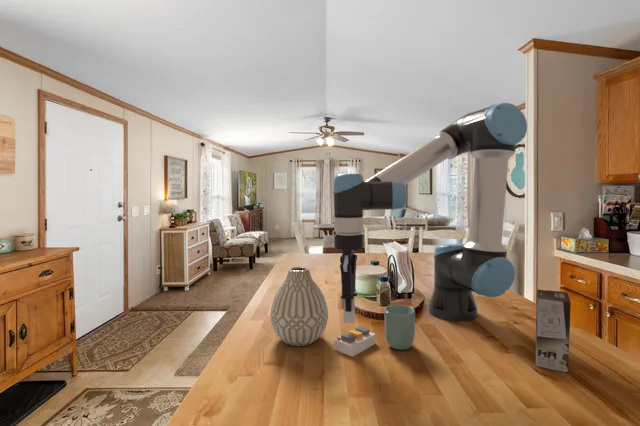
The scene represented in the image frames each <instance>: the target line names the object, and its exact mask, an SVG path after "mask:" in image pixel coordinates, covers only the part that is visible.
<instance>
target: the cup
mask: <svg viewBox="0 0 640 426" xmlns="http://www.w3.org/2000/svg"><path fill="white" fill-rule="evenodd" d="M415 333H416V310H415V309H414V307H412V306H410V305H405V304H391V305H387V306H386V307H385V308H384V334H385V338H386V339H385V340H386V342H387V344H388V346H389V347H390V348H392V349H395V350H397V351H405V350H408V349H410V348H411V347H412V346H413V344H414V340H415V335H416V334H415Z"/></svg>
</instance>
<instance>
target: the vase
mask: <svg viewBox="0 0 640 426" xmlns="http://www.w3.org/2000/svg"><path fill="white" fill-rule="evenodd" d="M314 280H315V279H313V276H312V275H311V272H310V269H309V268H308V267H307V266H292V267H290V268H288V271H287V274H286V277H285V279H284V281H283V283H282V284H281V286H280V287H279V288H278V290H277V292H276V293H275V295H274V297H273V301H272V303H271V308H270V314H269V315H270V322H271V326H272V329H273V331H274V333H275V334H276V336H277V337H278V338H279V339H280V340H281V341H283V342H284V343H285V344H287V345H289V346H294V347H305V346H309V345H311V344H314V343H315V342H316V341H317V340H318V339H319V338H320V337H321V336H322V335H323V333H324V332H325V330H326V328H327V326H328V321H329V307H328V303H327V300H326V298H325V296H324V293H323V292H322V290H321V289H320V287H319V285H318V284H317V283H316V282H315V281H314Z"/></svg>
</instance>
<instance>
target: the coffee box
mask: <svg viewBox="0 0 640 426" xmlns="http://www.w3.org/2000/svg"><path fill="white" fill-rule="evenodd" d="M571 305H572V302H571V299H570V296H569V294H568V292H567V291H559V290H558V291H557V290H546V289H536V307H535V309H536V311H535V315H536V316H535V366H536V367H539V368H544V369H548V370H553V371H557V372H561V371H562V373H565V372H568V373H569V359H570V358H569V357H570V356H569V354H570V333H571V331H570V329H571V308H572V307H571Z"/></svg>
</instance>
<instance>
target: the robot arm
mask: <svg viewBox="0 0 640 426" xmlns="http://www.w3.org/2000/svg"><path fill="white" fill-rule="evenodd" d="M527 131H528V123H527V118H526V115H525V114H524V112H522V111H521V109H520V108H519V107H518V106H517V105H515V104H513V103H509V102H501V103H497V104H491V105H490V106H487V107H484V108H481V109H479V110H478V109H477V110H476V111H472V112H468V113H467V114H464V115H462V116H461V117H459V118H458V119H456V120H455V121H453V122H452V123H450V124H449V125H448V126H446V127H444V128H443V129H442V130H440V131H437V133H436V134H435V135H434V138H433V139H431V140H429V141H428V142H426V143H424V144H423V145H421V146H420V147H418V148H417V149H415V150H413V151H412V152H409V153H408V154H406V155H405V156H404V157H402V158H400V159H399V160H397V161H395V162H394V163H392V164H390V165H389V166H387V167H385V168H384V169H383V170H381V171H379V172H378V173H376V174H374V175H373V176H371V177H369V178H368V179H366V180H364V179H363V178H364V176H363V175H362V173H340V174H339V173H338V174H336V175H335V176H334V178H333V191H332V194H333V213H334V214H333V217H334V218H333V220H332V221H331V223H332V225H334V226H333V229H334V232H335V234H334V235H333V244H334V245H333V246H334V249H336V250H341V251H342V254H341V256H340V259H339V262H340V264H339V268H340V280H341V296H340V299H341V300H343V323H344V324H355V321H356V318H355V317H356V316H355V313H356V310H355V308H356V307H355V302H356V300H355V297H358V293H356V290H357V289H356V283H357V282H356V277H357V276H356V274H357V273H356V272H357V271H356V270H357V261H358V255H357V254H356V252H355V251H358V250H361V249H363V247H364V235H363V234H362V233H363V232H364V211H372V210H374V211H379V210H381V211H382V210H384V211H386V210H387V211H388V210H392V211H393V210H401V209H403V208H404V207H405V206H406V205H407V201H408V189H407V187H406V185H407V184H409V183H411V182H412V181H413V180H416V179H417V178H419V177H420V176H422V175H423V174H425V173H427V172H428V171H429V170H432V169H433V168H434V167H436V166H439V164H441V163H442V162H444V161H446V160H447V159H448V160H454V159H455V158H457V157H458V156H460V155H462V154H466V153H469V155H471V157H473V159H474V173H473V183H472V184H473V185H472V196H471V208H470V209H471V211H470V221H469V222H470V223H469V224H470V225H469V237H468V238H469V239H468V240H467V242H466V243H456V244H455V243H451V244H449V243H447V244H438V245H436V246H435V248H434V255H433V258H434V260H433V261H434V262H433V263H434V267H433V268H434V272H433V273H434V274H433V276H434V277H433V278H434V279H433V282H434V288H433V291H432V295H431V297H430V300H429V302H428V312H429V313H430V314H431V315H433V316H434V317H436V318H440V319H443V320H448V321H457V322H460V321H462V322H463V321H472V320H475V319H476V318H477V317H478V307H477V304H476V300H475V296H474V295H473V292H474V293H475V294H477V295H480V296H485V297H487V298H496V297H500V296H501V295H503V294H505V293H507V292H506V291H508V290H509V289H510V288H511V287H512V286H513V284H514V281H515V277H516V269H515V266H514V265H513V263H512V262H511V261H510V260H509V259H508V258H507V256H508V250H507V248H506V247H505V245H503V243H502V240H503V230H504V229H503V228H504V216H505V208H506V207H505V206H506V205H505V204H506V193H507V182H508V181H507V180H508V167H509V161H510V159H511V158H512V157H513V156H514V155H516V147H517V145H518V144H519V143H520V142H522V141H523V139H525V137H526V135H527Z"/></svg>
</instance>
